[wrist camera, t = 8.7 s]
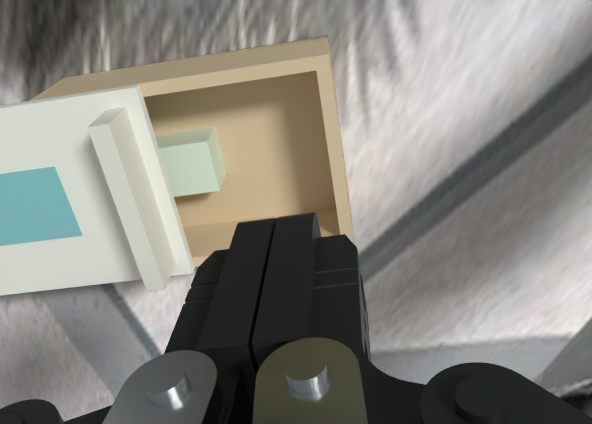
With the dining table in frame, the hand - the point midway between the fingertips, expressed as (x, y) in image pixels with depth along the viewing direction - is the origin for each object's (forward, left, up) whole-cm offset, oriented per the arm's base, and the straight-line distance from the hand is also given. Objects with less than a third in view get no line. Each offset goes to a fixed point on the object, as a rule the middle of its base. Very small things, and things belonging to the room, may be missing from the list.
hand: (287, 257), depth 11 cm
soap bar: (+10, +8, -27) cm, 30 cm away
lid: (+19, +8, -22) cm, 30 cm away
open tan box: (+8, +8, -27) cm, 29 cm away
